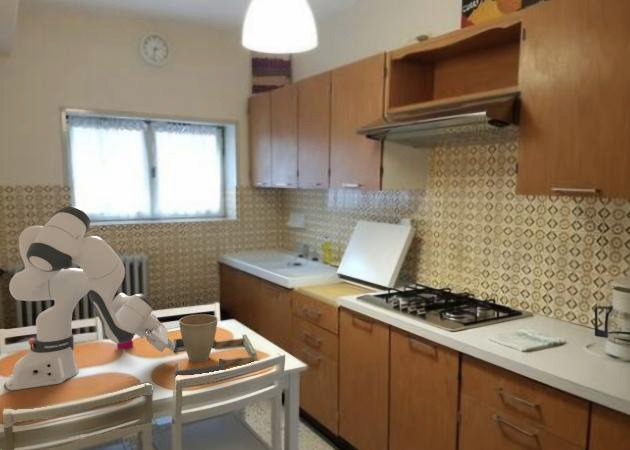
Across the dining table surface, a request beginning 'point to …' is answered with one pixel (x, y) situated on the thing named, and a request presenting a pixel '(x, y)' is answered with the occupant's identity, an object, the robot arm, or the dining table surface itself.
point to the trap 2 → (199, 369)
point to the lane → (235, 342)
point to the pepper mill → (126, 344)
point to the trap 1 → (180, 346)
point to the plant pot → (198, 335)
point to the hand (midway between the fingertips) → (174, 348)
